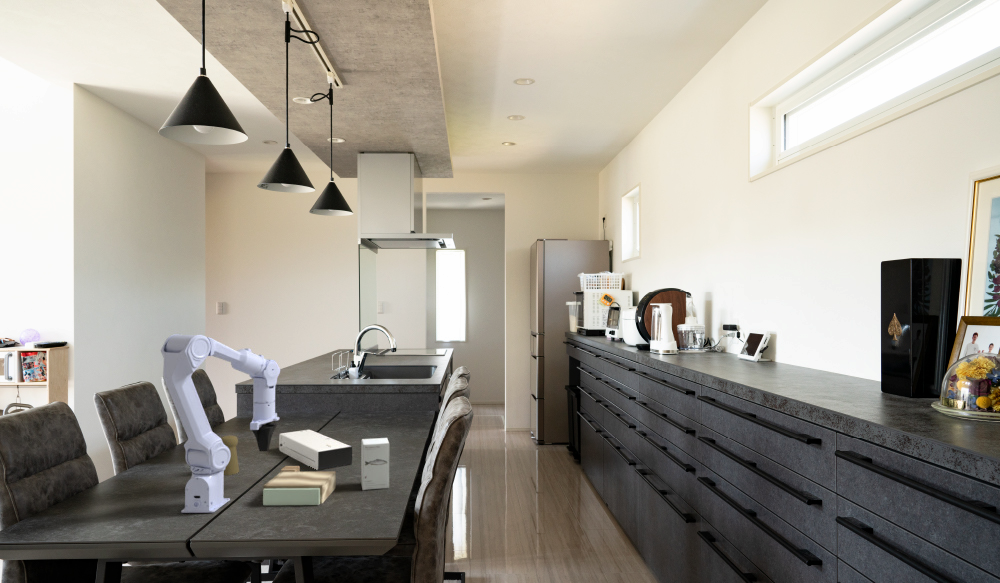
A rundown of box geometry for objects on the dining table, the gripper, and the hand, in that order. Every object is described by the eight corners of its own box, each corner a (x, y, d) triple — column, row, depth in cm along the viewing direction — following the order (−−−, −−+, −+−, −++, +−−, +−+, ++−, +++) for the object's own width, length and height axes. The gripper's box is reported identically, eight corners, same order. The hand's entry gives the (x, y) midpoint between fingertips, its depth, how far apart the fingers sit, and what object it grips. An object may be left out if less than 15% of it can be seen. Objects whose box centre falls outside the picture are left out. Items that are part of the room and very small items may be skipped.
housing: (322, 503, 153) (322, 485, 153) (263, 503, 153) (263, 485, 153) (335, 488, 166) (335, 471, 166) (281, 488, 165) (281, 471, 165)
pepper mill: (230, 476, 178) (231, 438, 178) (212, 474, 179) (213, 437, 179) (243, 470, 183) (243, 434, 184) (225, 469, 185) (226, 433, 185)
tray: (318, 504, 151) (318, 489, 151) (263, 505, 151) (263, 489, 151) (332, 489, 164) (332, 474, 164) (281, 489, 164) (281, 475, 164)
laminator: (352, 466, 190) (352, 446, 190) (314, 473, 182) (314, 452, 182) (310, 446, 216) (310, 429, 216) (275, 452, 208) (275, 434, 208)
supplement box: (362, 490, 163) (362, 444, 163) (360, 483, 170) (361, 438, 171) (389, 488, 165) (389, 442, 165) (387, 481, 172) (387, 436, 172)
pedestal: (294, 484, 169) (294, 469, 170) (280, 484, 169) (280, 469, 169) (299, 479, 173) (299, 466, 173) (285, 480, 173) (285, 466, 173)
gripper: (268, 406, 161) (268, 457, 160) (287, 397, 175) (287, 444, 175) (242, 406, 161) (242, 457, 160) (263, 397, 175) (263, 444, 175)
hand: (263, 450), depth 168 cm, fingers closed
